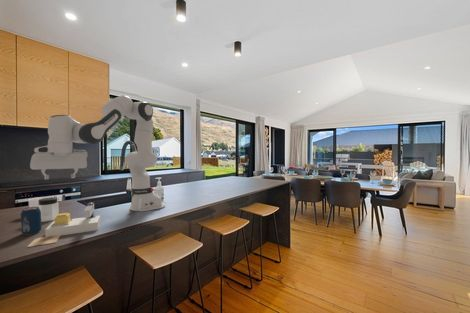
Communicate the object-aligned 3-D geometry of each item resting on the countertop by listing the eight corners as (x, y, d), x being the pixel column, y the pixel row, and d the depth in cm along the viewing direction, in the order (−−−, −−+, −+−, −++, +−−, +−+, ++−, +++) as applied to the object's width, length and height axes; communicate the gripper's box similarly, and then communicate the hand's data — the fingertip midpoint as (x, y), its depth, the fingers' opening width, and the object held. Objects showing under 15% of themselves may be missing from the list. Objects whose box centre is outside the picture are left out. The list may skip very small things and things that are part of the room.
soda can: (41, 228, 105) (40, 205, 104) (41, 232, 100) (40, 208, 99) (22, 232, 100) (21, 208, 100) (20, 237, 95) (20, 211, 95)
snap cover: (70, 220, 105) (70, 212, 105) (67, 224, 101) (67, 214, 100) (57, 222, 103) (57, 213, 102) (54, 225, 98) (54, 216, 98)
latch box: (100, 222, 114) (100, 214, 114) (97, 230, 103) (97, 220, 103) (53, 229, 105) (53, 220, 104) (45, 238, 94) (45, 228, 94)
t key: (94, 215, 114) (94, 201, 113) (90, 223, 100) (90, 208, 100) (88, 215, 112) (88, 202, 112) (83, 224, 99) (83, 209, 99)
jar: (36, 223, 113) (35, 201, 113) (39, 218, 120) (39, 198, 120) (57, 219, 118) (57, 199, 118) (59, 216, 125) (59, 196, 124)
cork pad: (61, 235, 97) (61, 234, 97) (55, 242, 89) (55, 242, 89) (35, 239, 93) (35, 238, 93) (27, 247, 85) (27, 246, 85)
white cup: (34, 217, 123) (33, 200, 123) (25, 215, 126) (25, 199, 125) (49, 213, 131) (48, 197, 130) (41, 212, 133) (40, 196, 133)
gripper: (86, 149, 106) (86, 176, 106) (30, 148, 92) (30, 179, 92) (88, 149, 101) (88, 177, 101) (29, 148, 87) (29, 180, 88)
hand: (60, 178), depth 97 cm, fingers open, 8 cm apart
